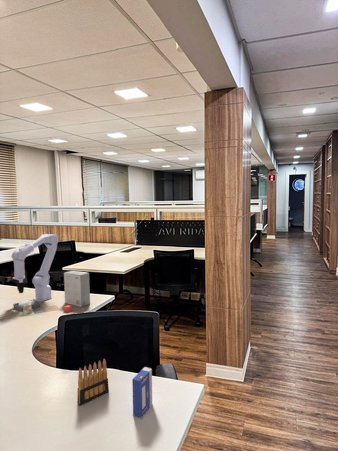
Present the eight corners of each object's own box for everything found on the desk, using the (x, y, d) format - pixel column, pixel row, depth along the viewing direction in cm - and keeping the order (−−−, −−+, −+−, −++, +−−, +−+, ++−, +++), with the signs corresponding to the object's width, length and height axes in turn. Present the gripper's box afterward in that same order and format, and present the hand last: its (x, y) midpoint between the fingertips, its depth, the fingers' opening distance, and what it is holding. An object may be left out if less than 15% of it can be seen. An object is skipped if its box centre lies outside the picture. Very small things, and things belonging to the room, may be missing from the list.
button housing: (30, 303, 206) (30, 299, 205) (39, 307, 199) (39, 303, 198) (13, 308, 197) (13, 304, 197) (22, 312, 190) (21, 307, 190)
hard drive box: (90, 303, 204) (89, 272, 202) (81, 307, 197) (80, 275, 196) (73, 300, 212) (72, 270, 210) (64, 303, 206) (63, 272, 204)
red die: (67, 310, 192) (67, 304, 192) (71, 310, 191) (71, 305, 191) (64, 312, 189) (63, 306, 189) (68, 312, 188) (68, 306, 188)
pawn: (30, 311, 191) (30, 302, 191) (31, 313, 188) (31, 304, 187) (23, 312, 189) (23, 303, 189) (24, 314, 186) (23, 305, 185)
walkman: (141, 418, 97) (140, 380, 96) (133, 415, 98) (132, 378, 97) (153, 403, 104) (152, 367, 103) (145, 401, 105) (144, 365, 104)
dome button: (30, 303, 204) (29, 299, 204) (37, 306, 198) (37, 302, 198) (15, 307, 197) (15, 303, 197) (22, 310, 191) (22, 306, 191)
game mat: (56, 305, 201) (56, 305, 201) (59, 309, 193) (59, 309, 193) (19, 311, 190) (19, 311, 190) (21, 316, 183) (21, 316, 183)
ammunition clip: (80, 406, 103) (78, 370, 102) (77, 403, 104) (76, 367, 103) (109, 392, 110) (108, 358, 109) (106, 390, 111) (105, 356, 110)
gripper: (11, 268, 203) (12, 289, 204) (13, 272, 190) (14, 295, 191) (23, 267, 206) (24, 288, 207) (26, 271, 194) (27, 293, 195)
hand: (20, 291), depth 199 cm, fingers open, 7 cm apart
